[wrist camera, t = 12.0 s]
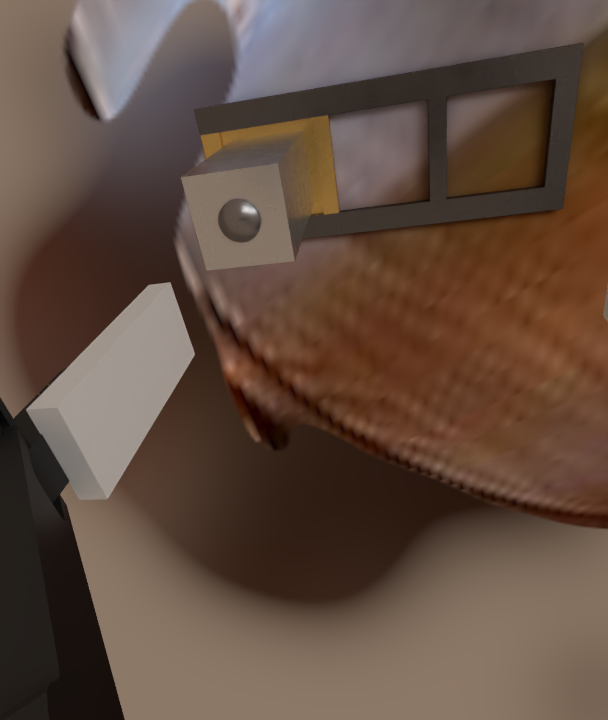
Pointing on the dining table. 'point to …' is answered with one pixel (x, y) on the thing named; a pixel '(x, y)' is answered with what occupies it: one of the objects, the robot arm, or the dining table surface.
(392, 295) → the dining table surface
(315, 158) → the grey flat rectangular frame
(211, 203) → the grey rectangular block
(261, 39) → the dining table surface
